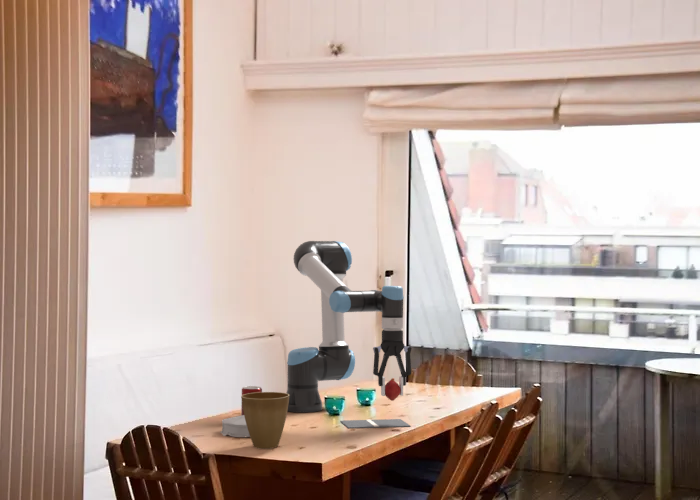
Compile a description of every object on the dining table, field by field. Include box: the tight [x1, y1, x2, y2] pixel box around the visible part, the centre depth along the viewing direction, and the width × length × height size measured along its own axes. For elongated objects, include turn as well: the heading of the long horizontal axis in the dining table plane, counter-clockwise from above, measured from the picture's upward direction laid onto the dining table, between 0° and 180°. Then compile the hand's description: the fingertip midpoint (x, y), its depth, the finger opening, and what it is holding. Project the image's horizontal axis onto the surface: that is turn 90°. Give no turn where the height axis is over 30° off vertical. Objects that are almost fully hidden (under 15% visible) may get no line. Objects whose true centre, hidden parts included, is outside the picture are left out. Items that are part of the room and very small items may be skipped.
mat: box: [340, 418, 412, 430], centre depth 352 cm, size 22×14×1 cm, turn 102°
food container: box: [219, 415, 250, 438], centre depth 334 cm, size 20×20×7 cm
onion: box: [384, 377, 401, 402], centre depth 353 cm, size 6×6×8 cm
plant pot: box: [240, 391, 289, 450], centre depth 310 cm, size 15×15×16 cm
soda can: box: [240, 385, 263, 416], centre depth 356 cm, size 7×7×12 cm
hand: (392, 395), depth 353 cm, fingers closed on onion, 6 cm apart
